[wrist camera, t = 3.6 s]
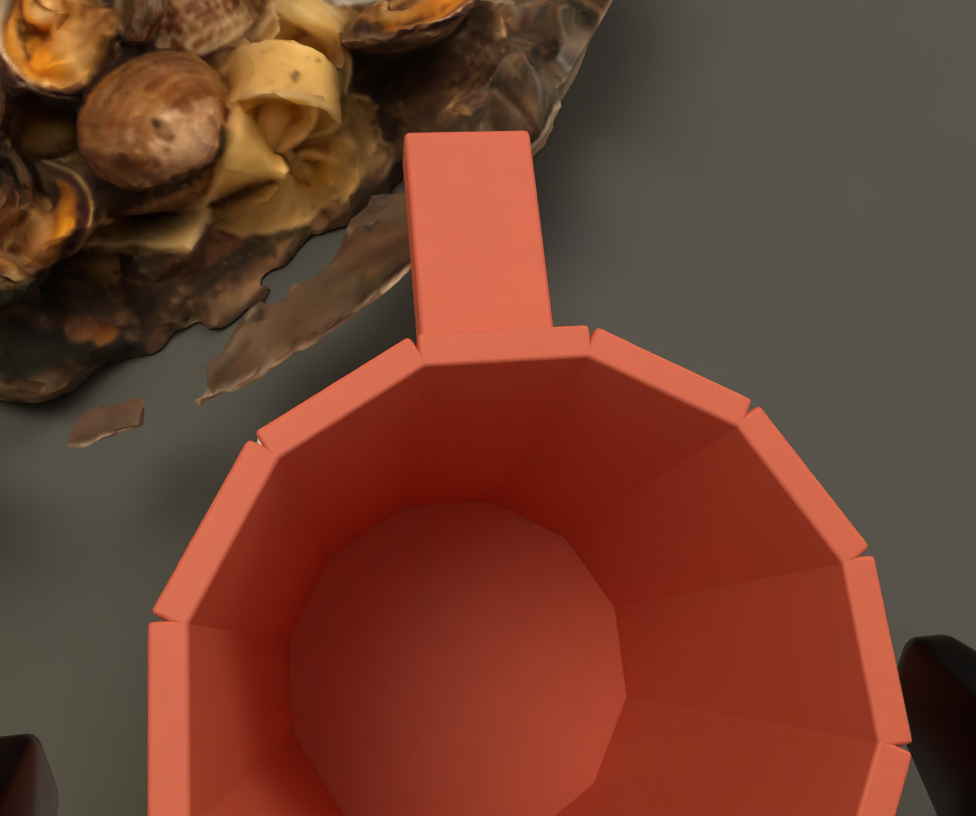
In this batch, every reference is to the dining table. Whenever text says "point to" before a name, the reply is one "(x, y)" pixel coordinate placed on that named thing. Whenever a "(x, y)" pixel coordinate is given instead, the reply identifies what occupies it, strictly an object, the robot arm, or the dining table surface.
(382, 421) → the red mug
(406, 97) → the food dish
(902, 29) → the dining table surface
